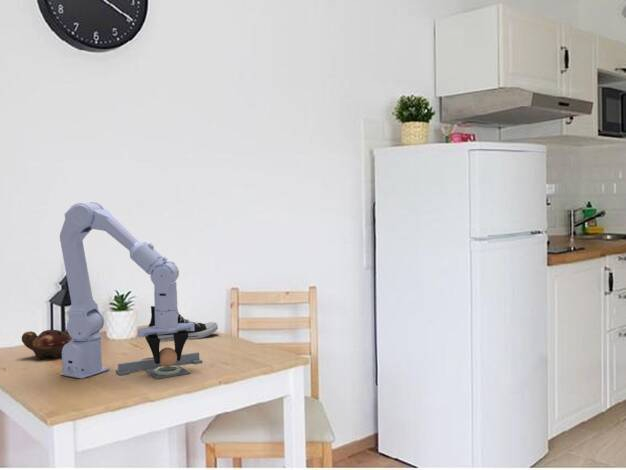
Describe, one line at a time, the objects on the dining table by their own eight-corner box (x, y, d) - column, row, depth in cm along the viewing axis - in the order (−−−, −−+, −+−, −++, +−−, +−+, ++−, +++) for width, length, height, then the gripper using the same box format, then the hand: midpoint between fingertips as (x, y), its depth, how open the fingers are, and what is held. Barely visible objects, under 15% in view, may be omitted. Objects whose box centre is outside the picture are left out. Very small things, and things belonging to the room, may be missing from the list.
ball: (168, 370, 167) (168, 350, 167) (153, 368, 170) (153, 348, 169) (181, 365, 172) (180, 346, 171) (166, 363, 174) (166, 344, 174)
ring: (153, 366, 177) (153, 364, 177) (135, 363, 180) (135, 361, 180) (169, 361, 182) (169, 358, 182) (151, 358, 185) (151, 356, 185)
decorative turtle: (20, 356, 189) (21, 328, 190) (76, 353, 196) (77, 326, 196) (21, 362, 181) (22, 333, 181) (79, 359, 187) (80, 331, 187)
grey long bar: (196, 359, 184) (196, 350, 183) (202, 362, 180) (202, 353, 180) (115, 372, 172) (115, 362, 172) (119, 375, 168) (119, 365, 168)
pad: (156, 379, 165) (156, 375, 165) (145, 371, 172) (145, 367, 172) (190, 373, 169) (190, 370, 169) (178, 366, 177) (178, 362, 177)
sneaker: (219, 338, 210) (218, 301, 209) (147, 343, 205) (146, 304, 204) (216, 333, 218) (216, 297, 218) (147, 337, 213) (146, 300, 213)
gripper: (143, 314, 163) (144, 369, 163) (198, 308, 170) (199, 360, 171) (134, 310, 169) (136, 362, 169) (188, 304, 176) (189, 355, 177)
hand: (167, 361), depth 171 cm, fingers closed on ball, 5 cm apart
